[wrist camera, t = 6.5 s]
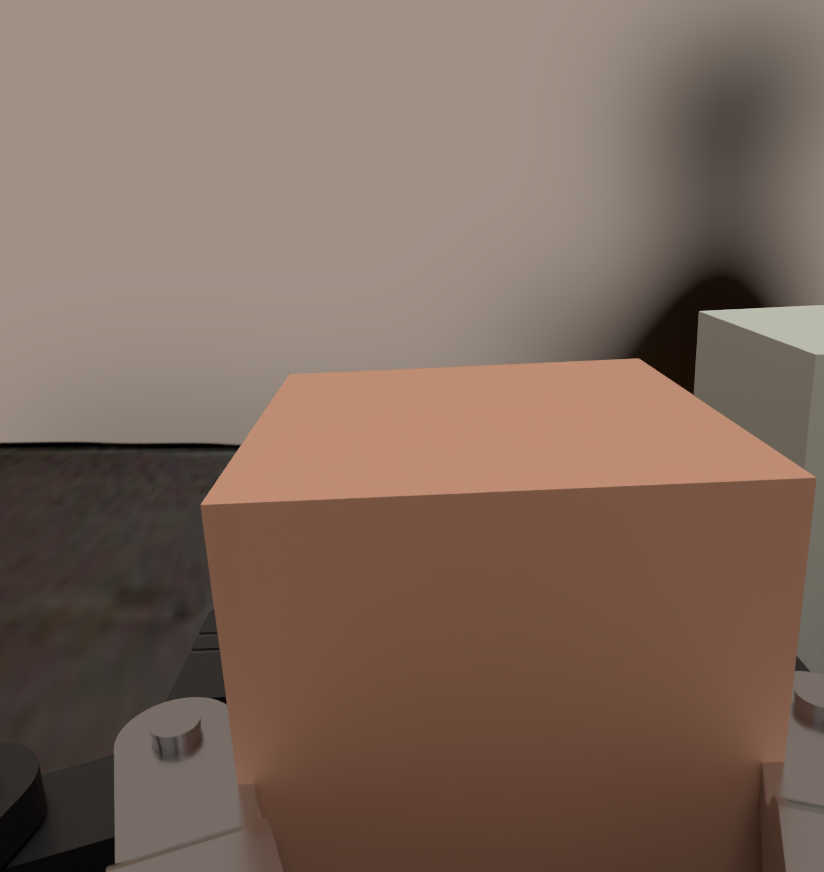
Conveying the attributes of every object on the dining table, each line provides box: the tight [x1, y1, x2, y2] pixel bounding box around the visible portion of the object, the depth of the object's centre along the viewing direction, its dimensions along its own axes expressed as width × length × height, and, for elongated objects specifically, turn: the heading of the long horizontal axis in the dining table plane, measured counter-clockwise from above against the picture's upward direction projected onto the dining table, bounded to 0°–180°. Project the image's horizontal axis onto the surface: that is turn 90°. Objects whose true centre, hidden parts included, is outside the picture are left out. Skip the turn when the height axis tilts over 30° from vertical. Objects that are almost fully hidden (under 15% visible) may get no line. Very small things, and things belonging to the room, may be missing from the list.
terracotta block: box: [201, 359, 817, 872], centre depth 10 cm, size 5×5×10 cm
